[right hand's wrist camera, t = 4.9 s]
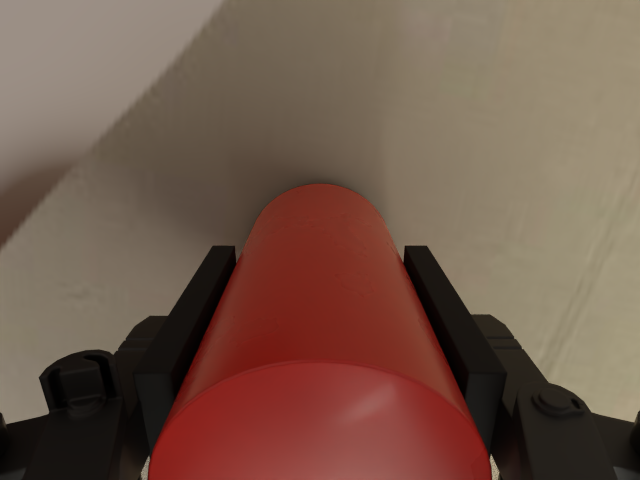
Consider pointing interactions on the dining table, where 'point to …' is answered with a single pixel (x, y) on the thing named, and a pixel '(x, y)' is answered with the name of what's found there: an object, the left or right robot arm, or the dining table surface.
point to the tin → (319, 362)
